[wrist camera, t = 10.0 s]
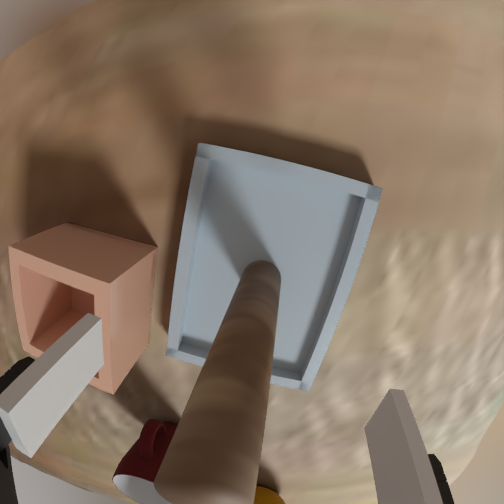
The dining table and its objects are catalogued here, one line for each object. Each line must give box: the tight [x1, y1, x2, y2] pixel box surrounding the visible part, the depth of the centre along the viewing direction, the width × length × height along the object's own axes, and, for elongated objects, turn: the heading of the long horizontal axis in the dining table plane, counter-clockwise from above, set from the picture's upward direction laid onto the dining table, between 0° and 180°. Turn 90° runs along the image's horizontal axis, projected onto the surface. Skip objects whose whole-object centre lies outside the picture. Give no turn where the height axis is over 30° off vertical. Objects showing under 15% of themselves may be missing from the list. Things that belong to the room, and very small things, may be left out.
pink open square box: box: [9, 222, 158, 395], centre depth 23 cm, size 10×10×8 cm
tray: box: [166, 143, 382, 391], centre depth 24 cm, size 18×13×2 cm
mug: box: [113, 419, 178, 504], centre depth 27 cm, size 10×8×10 cm
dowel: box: [154, 260, 281, 504], centre depth 15 cm, size 3×3×18 cm
